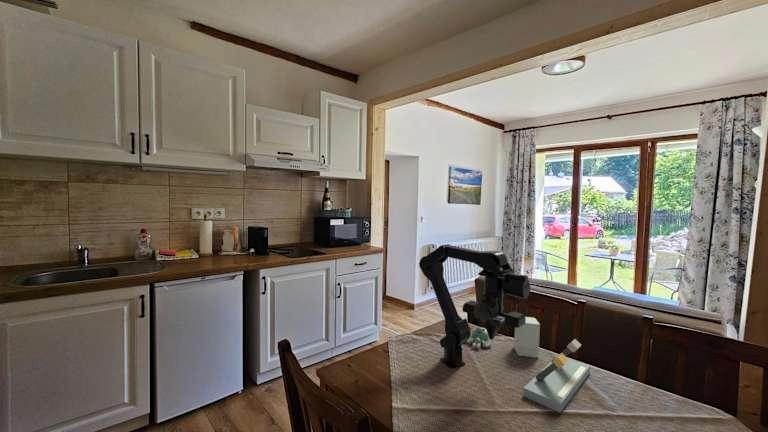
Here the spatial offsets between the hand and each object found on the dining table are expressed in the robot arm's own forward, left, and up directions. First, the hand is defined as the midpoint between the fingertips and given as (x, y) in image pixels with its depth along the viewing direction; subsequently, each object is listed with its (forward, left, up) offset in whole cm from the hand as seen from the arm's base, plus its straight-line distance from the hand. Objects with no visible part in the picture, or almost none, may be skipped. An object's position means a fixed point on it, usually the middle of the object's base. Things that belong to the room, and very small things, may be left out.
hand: (491, 339), depth 102 cm
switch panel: (+10, +19, -13) cm, 25 cm away
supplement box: (-9, +26, -13) cm, 31 cm away
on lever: (+5, +24, -9) cm, 26 cm away
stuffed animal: (-21, +14, -13) cm, 29 cm away
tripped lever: (+10, +11, -9) cm, 17 cm away
